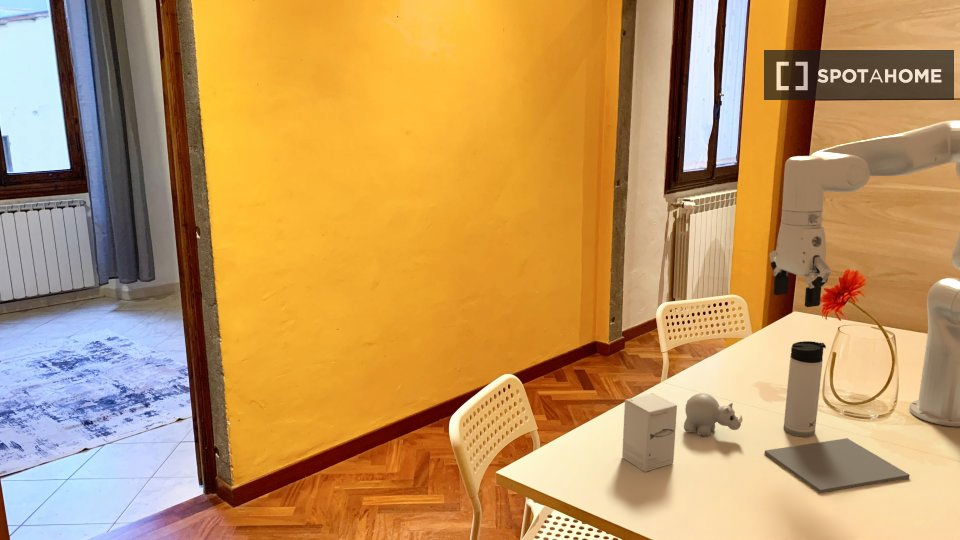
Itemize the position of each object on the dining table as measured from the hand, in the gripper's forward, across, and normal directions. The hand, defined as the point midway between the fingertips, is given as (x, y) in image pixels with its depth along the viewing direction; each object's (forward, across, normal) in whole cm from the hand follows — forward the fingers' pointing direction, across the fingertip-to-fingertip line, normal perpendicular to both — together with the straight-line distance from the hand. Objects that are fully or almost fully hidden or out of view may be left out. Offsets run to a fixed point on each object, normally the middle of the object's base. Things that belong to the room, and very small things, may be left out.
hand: (796, 300), depth 152 cm
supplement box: (+29, -4, +35) cm, 46 cm away
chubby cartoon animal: (+29, +3, +16) cm, 34 cm away
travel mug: (+30, -1, -3) cm, 30 cm away
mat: (+29, -16, +1) cm, 33 cm away
